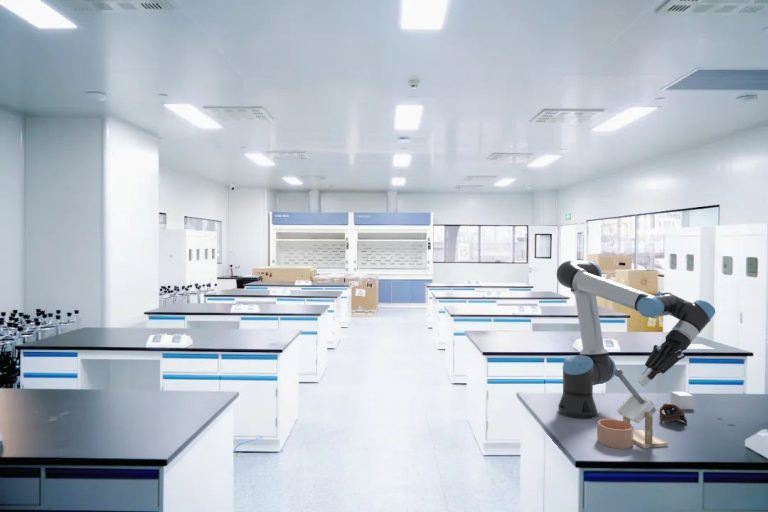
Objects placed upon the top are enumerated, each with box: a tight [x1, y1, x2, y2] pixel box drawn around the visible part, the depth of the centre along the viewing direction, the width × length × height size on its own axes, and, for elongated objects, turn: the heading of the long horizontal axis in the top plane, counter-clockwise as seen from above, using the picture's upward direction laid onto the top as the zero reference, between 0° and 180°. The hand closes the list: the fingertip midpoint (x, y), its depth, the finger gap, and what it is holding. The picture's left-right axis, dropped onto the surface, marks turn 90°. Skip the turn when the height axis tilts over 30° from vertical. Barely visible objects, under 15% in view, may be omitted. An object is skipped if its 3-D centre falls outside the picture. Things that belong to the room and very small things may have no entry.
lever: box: [614, 368, 657, 424], centre depth 171 cm, size 9×9×20 cm
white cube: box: [670, 391, 694, 410], centre depth 210 cm, size 6×6×6 cm
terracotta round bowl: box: [596, 418, 634, 450], centre depth 170 cm, size 11×11×6 cm
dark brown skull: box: [659, 403, 688, 425], centre depth 192 cm, size 12×10×8 cm
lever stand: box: [622, 401, 668, 449], centre depth 172 cm, size 10×12×12 cm
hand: (641, 384), depth 172 cm, fingers closed
